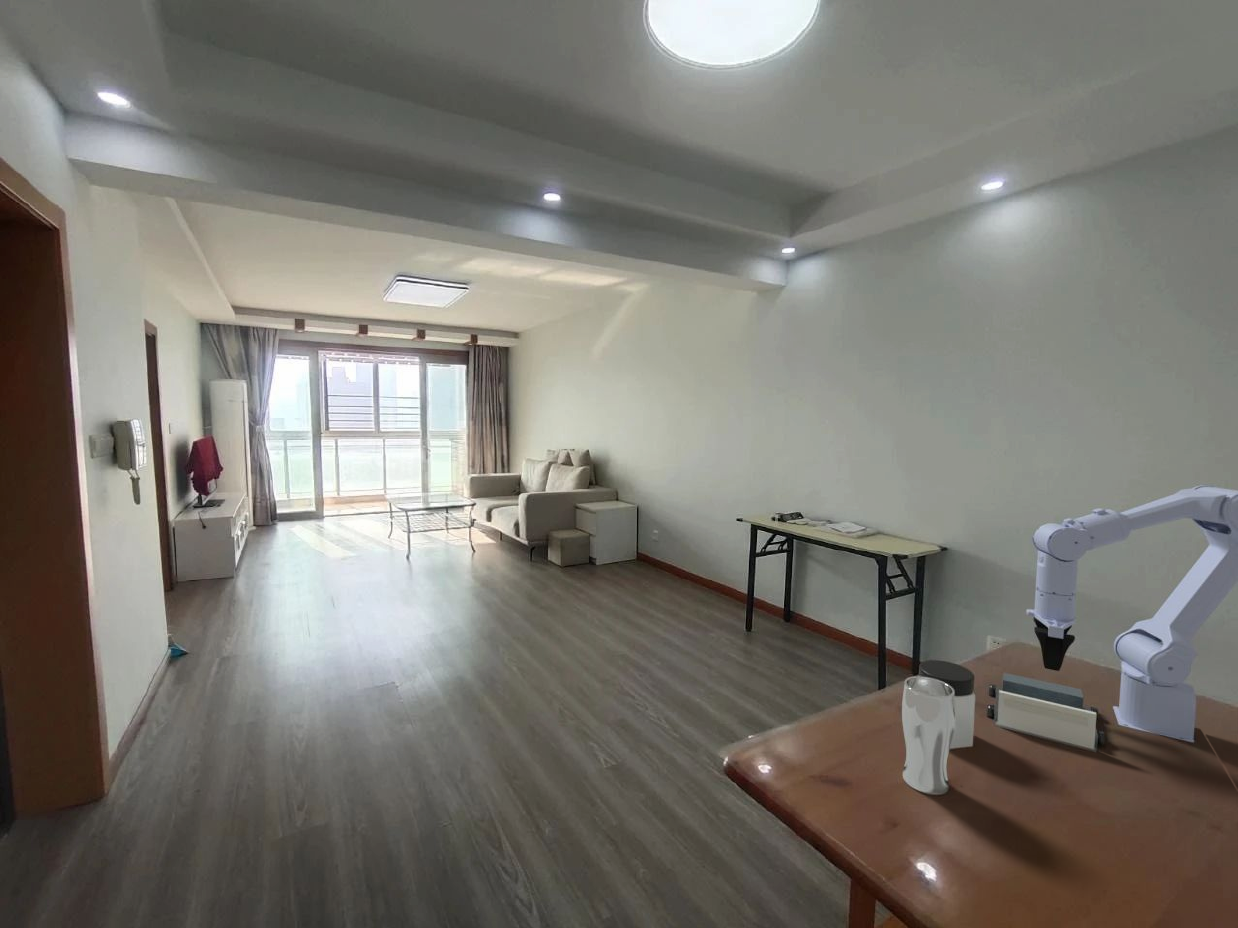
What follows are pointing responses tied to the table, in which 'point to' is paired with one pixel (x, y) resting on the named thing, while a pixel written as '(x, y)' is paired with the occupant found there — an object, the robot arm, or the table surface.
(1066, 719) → the panel
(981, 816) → the table surface
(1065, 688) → the grey piece
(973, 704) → the jar
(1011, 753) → the table surface
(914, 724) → the beer glass
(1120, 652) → the robot arm
